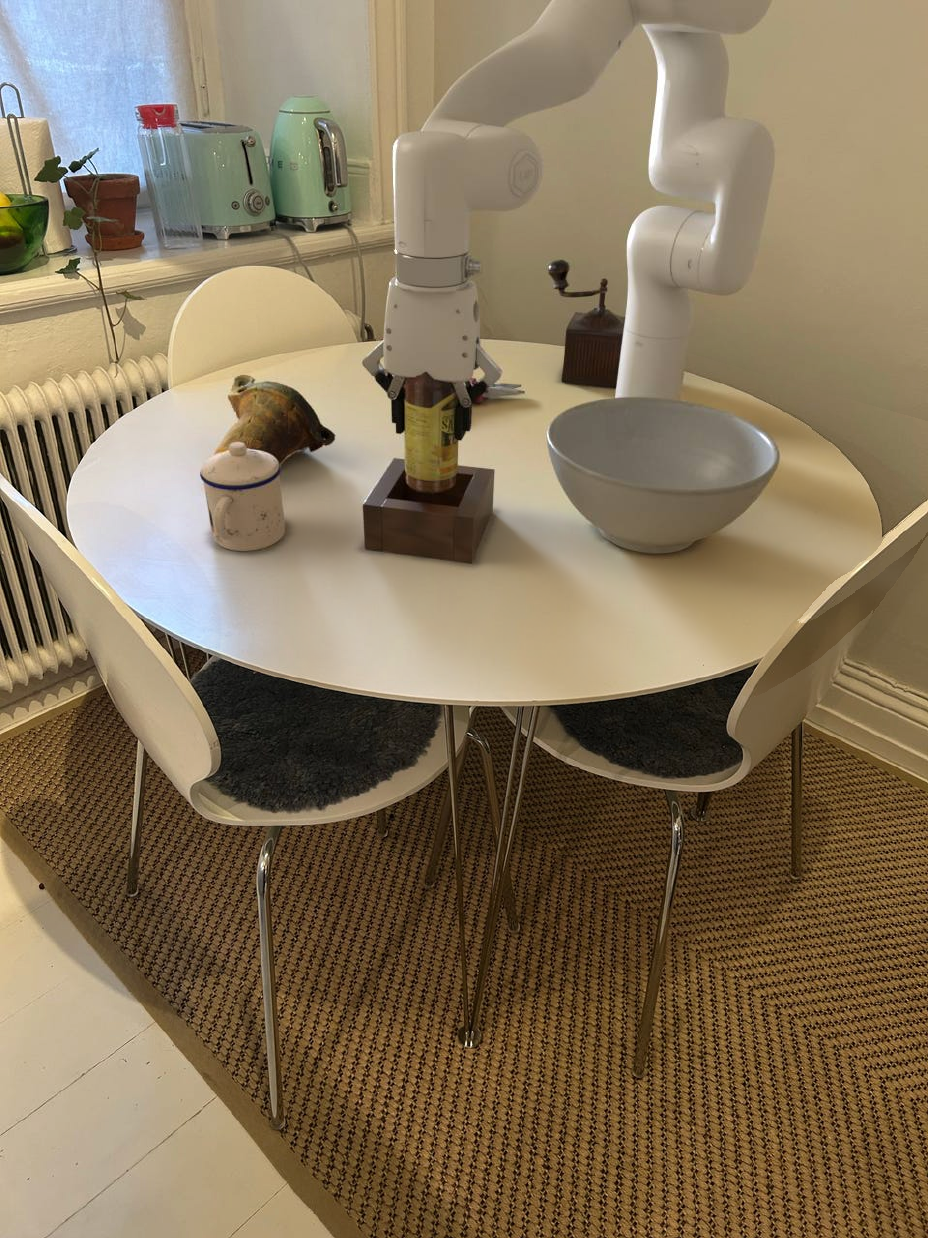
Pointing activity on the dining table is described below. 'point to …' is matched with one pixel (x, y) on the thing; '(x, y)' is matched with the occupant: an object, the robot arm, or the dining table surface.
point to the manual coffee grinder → (589, 337)
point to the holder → (429, 515)
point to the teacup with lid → (244, 498)
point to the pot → (273, 420)
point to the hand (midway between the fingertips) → (431, 431)
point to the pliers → (498, 390)
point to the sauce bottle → (430, 434)
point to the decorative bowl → (659, 468)
